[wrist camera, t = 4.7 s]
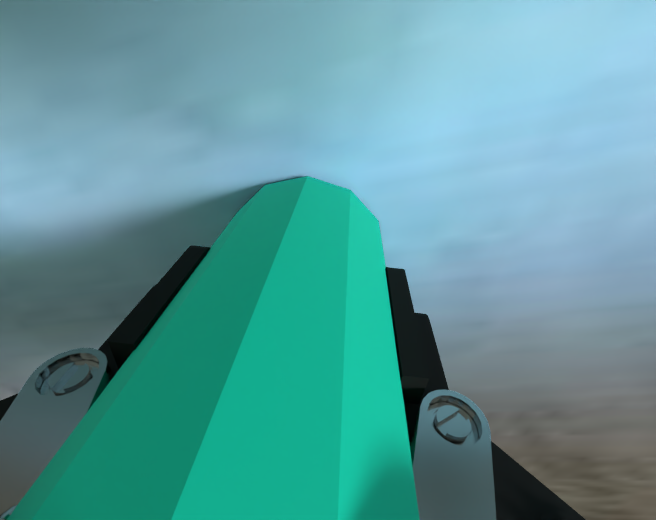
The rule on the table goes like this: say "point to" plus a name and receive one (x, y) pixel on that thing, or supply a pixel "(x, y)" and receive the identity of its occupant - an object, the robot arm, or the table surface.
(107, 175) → the table surface
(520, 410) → the table surface
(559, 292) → the table surface
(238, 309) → the candle
